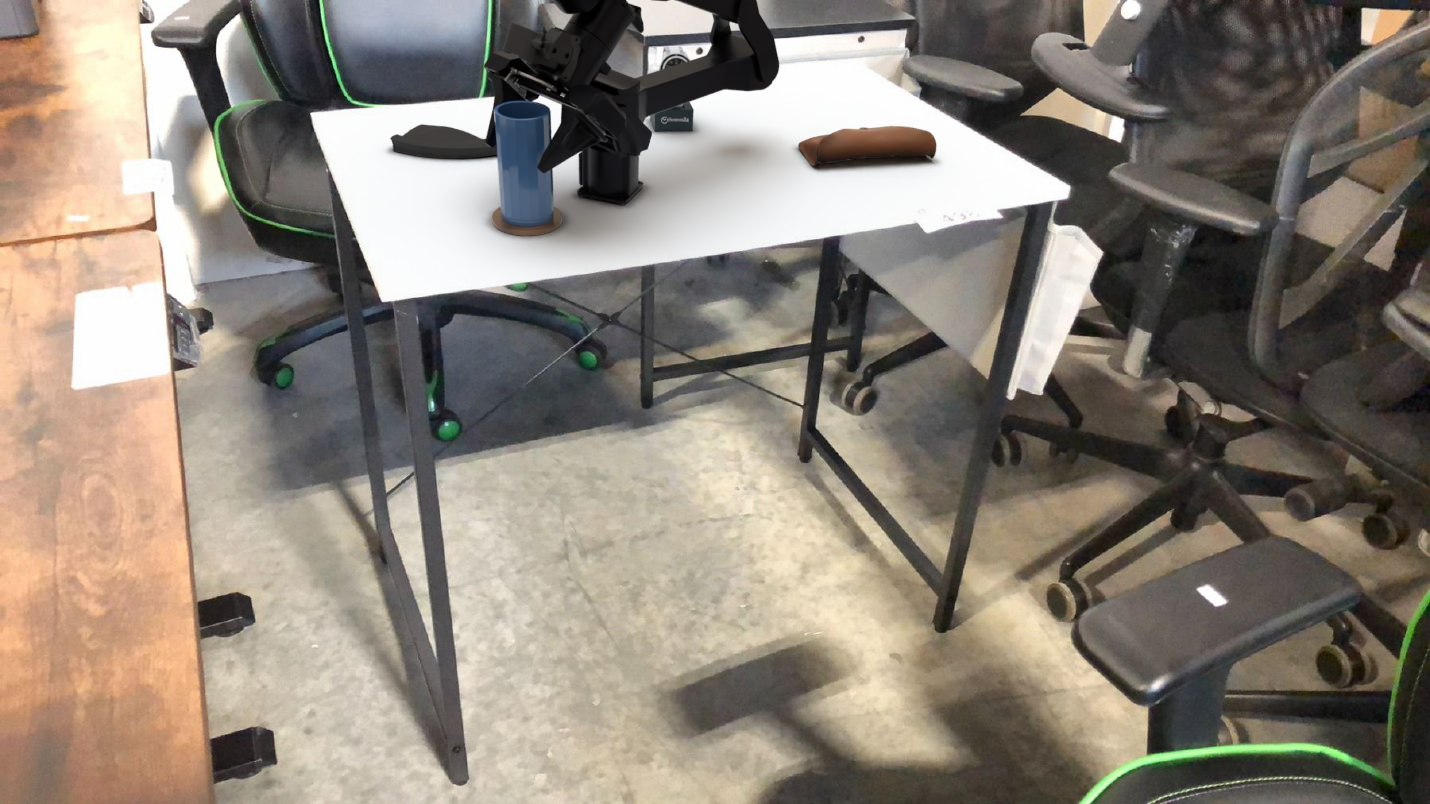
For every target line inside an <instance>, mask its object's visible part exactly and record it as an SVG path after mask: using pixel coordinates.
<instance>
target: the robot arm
mask: <svg viewBox="0 0 1430 804" xmlns="http://www.w3.org/2000/svg"><path fill="white" fill-rule="evenodd" d="M652 1H654V2H656V1H657V2H669V1H670V0H652ZM551 2H552V3H553V4H554V5H555V6H556V7H557V8H558V10H559V11H561V12H562V13H563V14H566V15H571V17H570V19H569V20H568V21H567V23H566V24H565V26H564V27H563V28H560V27H557V26H555V27H550V29H549V30H547V32H546V33H545V34H544V33H541V32H539V31H536V30H534V29H531V28H528V27H526V26H522V25H521V24H519V23H515V22H513V21H510V24H509V28H508V31H507V34H506V37H505V41H504V44H503V47H502V50H497V51H492V52H491V54H489V57H487V59H486V61H485V63H484V64H483V69H485V70H486V71H487V79H488V80H489V81H490V82H491V85H492V88H493V92H494V93H493V94H494V98H493V104H492V109H491V115H490V119H489V124H488V127H487V132H486V137H485V139H486V140H485V143H486V144H487V145H488V146H489V147H491V148H493V147H494V146H496V134H495V119H494V109H495V107H496V106H498V105H500V104H502V103H506V102H510V101H532V102H535V101H536V100H539V98H540V97H543V98H545V99H548V100H550V101H552V102H555V103H556V104H559V105H561V106H560V107H561V108H560V123H559V125H558V127H557V129H556V131H555V132H554V135H553V136H552V137H551V138H552V139H551V141H550V143H549V145H548V146H547V148H546V150H545V152H544V153H543V155H542V157H541V160H540V162H539V164H538V166H537V169H538V170H539V171H540V172H542V173H546V172H548V171H549V170H551V169H555V168H556V167H558V166H559V165H561V164H562V163H564V162H566V161H567V160H569V159H571V158H572V157H574V156H576V155H577V154H578V184H579V186H580V187H579V188H578V189H577V190H576V195H577V196H579V197H583V198H589V199H593V200H598V201H604V202H608V203H613V204H618V205H626V204H628V202H629V201H630V200H632V198H633V197H635V195H636V194H638V192H640V191H641V189H642V188H643V187H644V182H643V181H640V180H639V173H640V171H639V169H640V168H639V166H640V156H641V153H642V152H645V151H647V150H649V147H650V143H651V139H652V136H653V132H652V131H651V129H650V128H649V127H648V126H647V125H646V124H645V121H646V118H648V117H650V116H651V115H654V114H657V113H659V112H662V111H665V110H668V109H671V108H674V107H676V106H679V105H682V104H685V103H688V102H690V103H691V102H693V101H696V100H699V99H701V98H705V97H708V96H710V95H714V94H716V93H718V92H721V91H725V90H726V91H738V92H756V91H764V90H766V89H767V88H769V87H770V86H771V85H772V84H773V82H774V81H775V80H776V78H777V77H778V74H779V71H780V59H779V55H778V50H777V45H776V40H775V37H774V35H773V33H772V31H771V30H770V28H769V26H768V24H767V23H766V21H765V20H764V19H763V17H762V15H761V13H760V9H759V4H758V0H675V2H679V3H681V4H684V5H687V6H690V7H693V8H695V9H698V10H701V11H704V12H706V13H709V14H711V15H712V18H713V19H712V20H713V22H712V26H711V30H710V34H709V41H710V43H711V46H710V48H709V50H708V51H707V54H705V55H704V56H700V57H697V58H693V59H690V61H687V62H684V63H681V64H678V65H675V66H672V67H668V68H665V69H662V70H659V69H658V70H656V71H653V72H650V73H647V74H643V75H640V76H637V77H632V76H630V75H627V74H626V73H622V72H621V71H616V70H615V69H612V67H611V65H610V64H609V63H607V62H608V60H609V58H610V57H611V55H612V54H613V52H614V50H615V49H616V47H617V46H618V44H619V42H620V41H621V39H622V38H623V36H624V34H625V33H626V31H627V30H630V31H632V32H636V33H639V34H642V33H644V31H645V27H644V26H645V25H644V21H643V18H642V7H641V6H638V5H635V4H633V3H629V2H628V0H551ZM730 23H733V24H736V25H737V26H738V29H739V31H740V33H741V35H740V34H736V33H732V32H733V31H732V29H731V24H730ZM525 61H526V62H525ZM535 72H536V73H535Z"/></svg>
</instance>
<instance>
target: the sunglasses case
mask: <svg viewBox="0 0 1430 804" xmlns="http://www.w3.org/2000/svg"><path fill="white" fill-rule="evenodd" d="M797 146H798V149H799V150H800V152H801V154H802V156H803V157H804V158H805V159H806V161H807V162H808V163H809V164H810V166H811V167H815V166H817V165H818V164H820V165H822V164H829V163H837V162H845V161H849V160H851V161H854V160H860V159H882V158H889V157H893V158H901V157H902V158H903V157H923V156H927V157H928V158H930V159H934V158H935V156H936V153H937V141H936V137H935V136H934V135H933V133H931V131H928V130H925V129H922V128H917V127H912V126H906V125H905V126H902V125H901V126H900V125H887V126H885V125H884V126H878V127H877V126H876V127H867V126H865V127H864V126H862V127H859V128H840V129H838V130H835V131H833V132H831V133H828V134H822V135H817V136H812V137H809V138H807V139H805V140H802V141H800V142H799V143H798V145H797Z"/></svg>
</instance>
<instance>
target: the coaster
mask: <svg viewBox="0 0 1430 804" xmlns="http://www.w3.org/2000/svg"><path fill="white" fill-rule="evenodd" d="M491 222H492V225H493V226H494V228H496V229H497V230H499V231H500V232H503V233H505V234H509V235H514V236H521V237H532V236H533V237H534V236H540V235H545V234H549V233H550V232H553V231H555V230H557V229H558V228H559V227H560V226H562V225H561V224H562V223H563V215H562V212H561V210H559V208H557V207H555V206H554V217H553V219H552V220H551V221H550V222H548V223H546V224H544V225H540V226H535V227H520V226H514V225H511V224H508V223H506V222H505V221H504V220H503V219H502V217H501V209H500V206H498V207H497V208H496V209H495V210H494V211H493V212H492V214H491Z"/></svg>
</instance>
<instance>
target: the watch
mask: <svg viewBox="0 0 1430 804" xmlns="http://www.w3.org/2000/svg"><path fill="white" fill-rule="evenodd" d="M690 60H691V59H690V57H689V56H688V53H687V52H686V51H684V49H683V47H682V46H663V49H662V57H661V62H660V64H659V69H658V71H659V70H662V69H665V68H668V67H672V66H675V65H678V64H681V63H684V62H687V61H690ZM694 111H695V109H694V107H693V105H692V104H691V102H688V103H685V104H682V105H679V106H676V107H674V108H671V109H668V110H665V111H662V112H659V113H657V114H654V115H651V116H649V121H650V124H651V126H652V129H653V131H654V132H693V129H694Z"/></svg>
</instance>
